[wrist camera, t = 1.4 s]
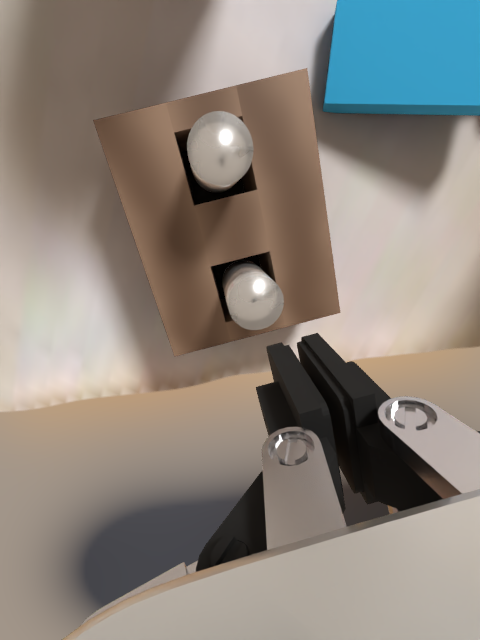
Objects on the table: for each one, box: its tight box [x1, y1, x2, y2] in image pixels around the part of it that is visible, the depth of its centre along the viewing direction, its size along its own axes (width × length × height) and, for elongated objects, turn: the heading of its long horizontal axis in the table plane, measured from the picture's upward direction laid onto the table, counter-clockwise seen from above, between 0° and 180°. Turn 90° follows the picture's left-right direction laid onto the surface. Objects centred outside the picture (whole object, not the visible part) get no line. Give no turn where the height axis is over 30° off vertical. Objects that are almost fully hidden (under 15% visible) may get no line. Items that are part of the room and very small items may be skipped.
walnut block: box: [93, 68, 340, 356], centre depth 26 cm, size 14×17×7 cm
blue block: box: [323, 0, 480, 116], centre depth 26 cm, size 7×7×18 cm
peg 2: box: [222, 260, 284, 330], centre depth 23 cm, size 4×4×7 cm
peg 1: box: [187, 111, 253, 193], centre depth 20 cm, size 4×4×7 cm
